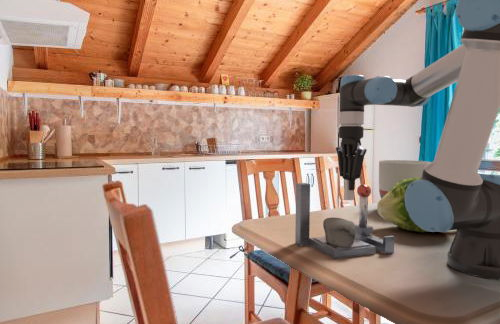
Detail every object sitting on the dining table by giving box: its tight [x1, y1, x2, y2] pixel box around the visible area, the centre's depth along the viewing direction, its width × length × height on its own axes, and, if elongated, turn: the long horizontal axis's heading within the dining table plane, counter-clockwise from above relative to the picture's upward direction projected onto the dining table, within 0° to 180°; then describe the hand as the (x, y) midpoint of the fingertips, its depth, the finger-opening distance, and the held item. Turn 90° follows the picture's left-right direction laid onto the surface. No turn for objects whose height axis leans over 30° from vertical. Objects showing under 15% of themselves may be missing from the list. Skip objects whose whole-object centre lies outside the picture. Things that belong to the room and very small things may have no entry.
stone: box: [322, 217, 356, 248], centre depth 100 cm, size 9×9×10 cm
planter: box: [378, 159, 431, 200], centre depth 155 cm, size 20×20×21 cm
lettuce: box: [376, 178, 429, 233], centre depth 121 cm, size 19×23×18 cm
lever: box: [355, 183, 374, 235], centre depth 108 cm, size 4×4×15 cm
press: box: [294, 182, 395, 260], centre depth 102 cm, size 17×22×18 cm
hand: (348, 199), depth 114 cm, fingers closed
